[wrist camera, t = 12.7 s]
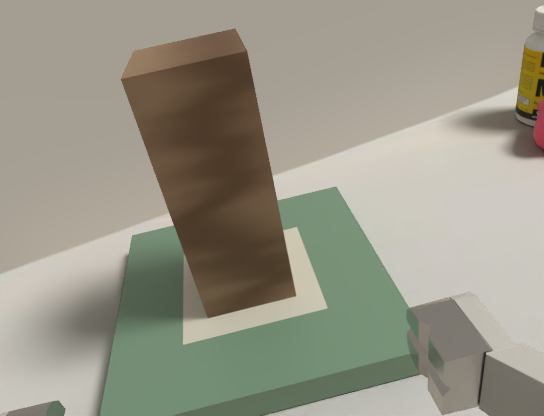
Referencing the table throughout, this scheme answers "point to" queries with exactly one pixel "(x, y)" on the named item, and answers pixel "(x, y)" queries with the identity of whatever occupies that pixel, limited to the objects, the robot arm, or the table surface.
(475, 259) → the table surface
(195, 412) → the plate
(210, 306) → the walnut block
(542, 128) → the toy pieces
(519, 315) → the table surface
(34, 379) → the table surface
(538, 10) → the supplement bottle
